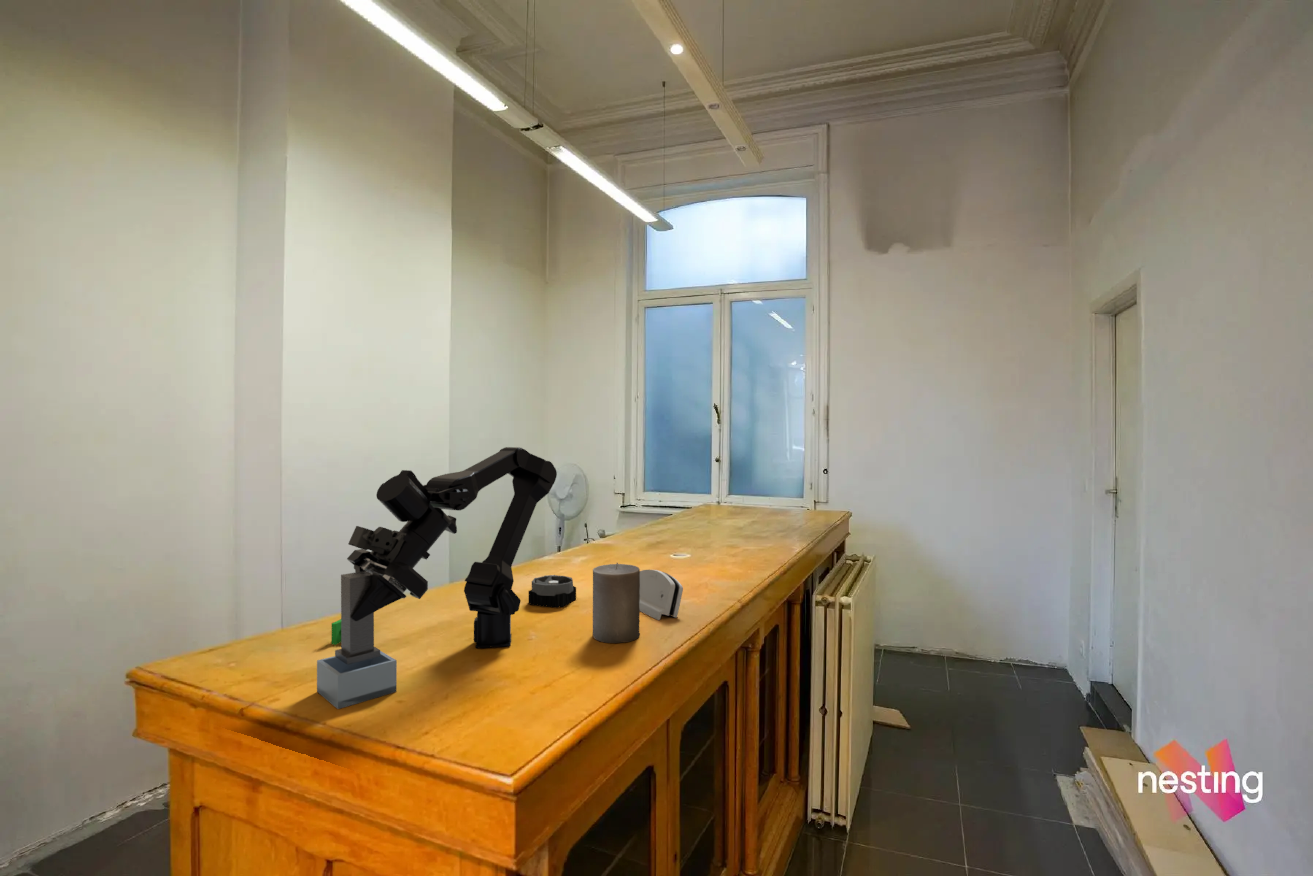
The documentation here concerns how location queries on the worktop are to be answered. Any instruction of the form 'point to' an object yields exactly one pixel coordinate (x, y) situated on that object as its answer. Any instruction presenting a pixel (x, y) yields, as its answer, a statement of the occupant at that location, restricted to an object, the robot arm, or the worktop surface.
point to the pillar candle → (616, 603)
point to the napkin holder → (659, 594)
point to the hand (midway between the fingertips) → (348, 616)
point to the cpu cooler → (552, 591)
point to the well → (356, 679)
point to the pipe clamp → (336, 632)
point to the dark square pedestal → (356, 633)
